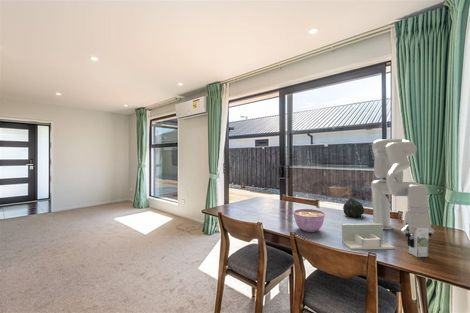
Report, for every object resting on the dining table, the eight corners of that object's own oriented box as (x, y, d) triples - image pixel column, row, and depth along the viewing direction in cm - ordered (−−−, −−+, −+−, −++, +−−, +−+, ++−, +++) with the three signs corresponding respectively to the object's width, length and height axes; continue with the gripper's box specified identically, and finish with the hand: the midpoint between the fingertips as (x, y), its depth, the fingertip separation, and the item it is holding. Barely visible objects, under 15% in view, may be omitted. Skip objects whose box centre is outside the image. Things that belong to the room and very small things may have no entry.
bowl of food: (297, 223, 161) (296, 207, 161) (326, 227, 152) (326, 210, 152) (290, 232, 143) (289, 214, 143) (323, 237, 134) (323, 218, 134)
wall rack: (342, 241, 128) (341, 224, 127) (381, 241, 127) (381, 223, 127) (351, 249, 117) (350, 230, 117) (394, 249, 116) (393, 230, 116)
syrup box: (418, 252, 112) (418, 223, 112) (429, 257, 106) (428, 227, 106) (407, 252, 112) (407, 223, 112) (417, 257, 106) (417, 227, 106)
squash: (367, 208, 178) (353, 193, 183) (367, 213, 165) (352, 197, 170) (353, 218, 184) (339, 203, 189) (352, 224, 171) (337, 208, 176)
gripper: (429, 207, 112) (429, 243, 113) (394, 208, 113) (394, 243, 113) (442, 211, 105) (442, 249, 105) (404, 211, 105) (405, 249, 106)
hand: (417, 246), depth 109 cm, fingers closed on syrup box, 5 cm apart
